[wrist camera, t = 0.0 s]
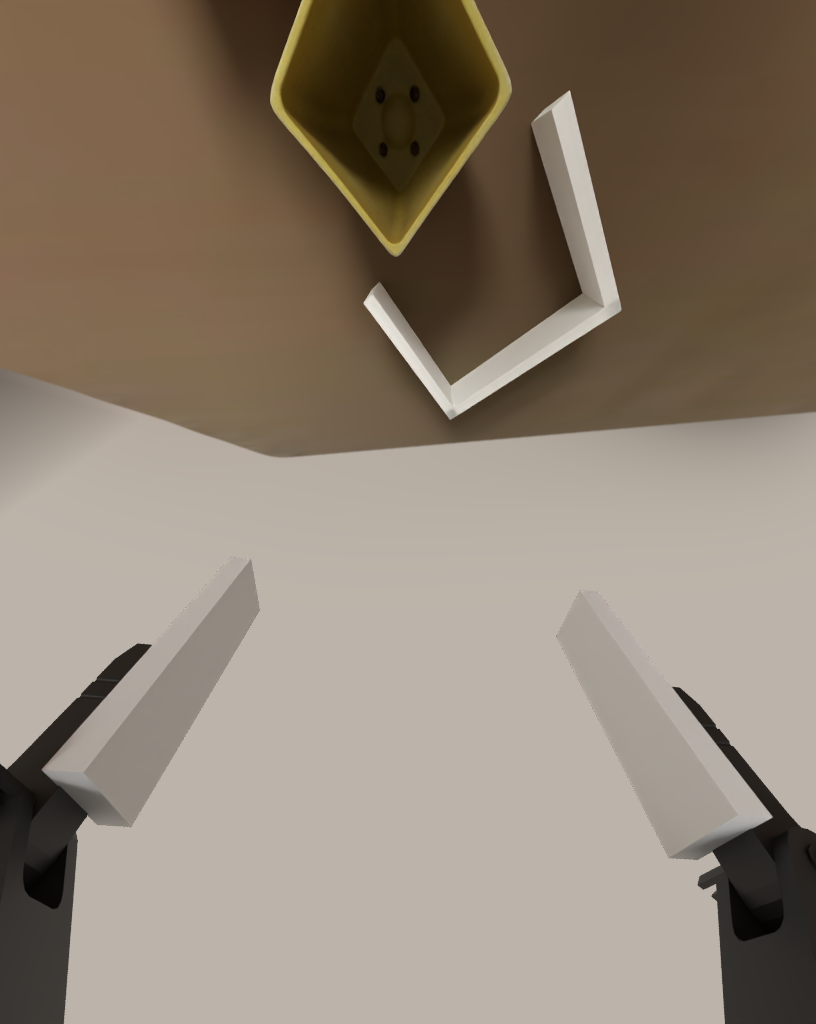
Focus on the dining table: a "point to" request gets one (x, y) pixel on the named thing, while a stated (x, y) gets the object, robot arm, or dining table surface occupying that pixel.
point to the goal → (561, 328)
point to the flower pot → (390, 101)
